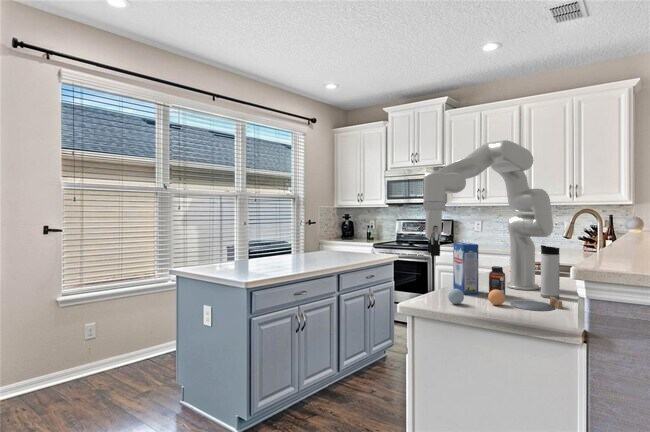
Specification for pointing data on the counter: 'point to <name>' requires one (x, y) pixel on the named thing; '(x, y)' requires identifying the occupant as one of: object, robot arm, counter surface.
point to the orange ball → (496, 297)
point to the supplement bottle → (497, 279)
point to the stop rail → (556, 302)
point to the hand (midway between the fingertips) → (433, 254)
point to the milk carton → (465, 268)
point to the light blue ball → (455, 296)
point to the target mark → (532, 305)
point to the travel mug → (550, 271)
